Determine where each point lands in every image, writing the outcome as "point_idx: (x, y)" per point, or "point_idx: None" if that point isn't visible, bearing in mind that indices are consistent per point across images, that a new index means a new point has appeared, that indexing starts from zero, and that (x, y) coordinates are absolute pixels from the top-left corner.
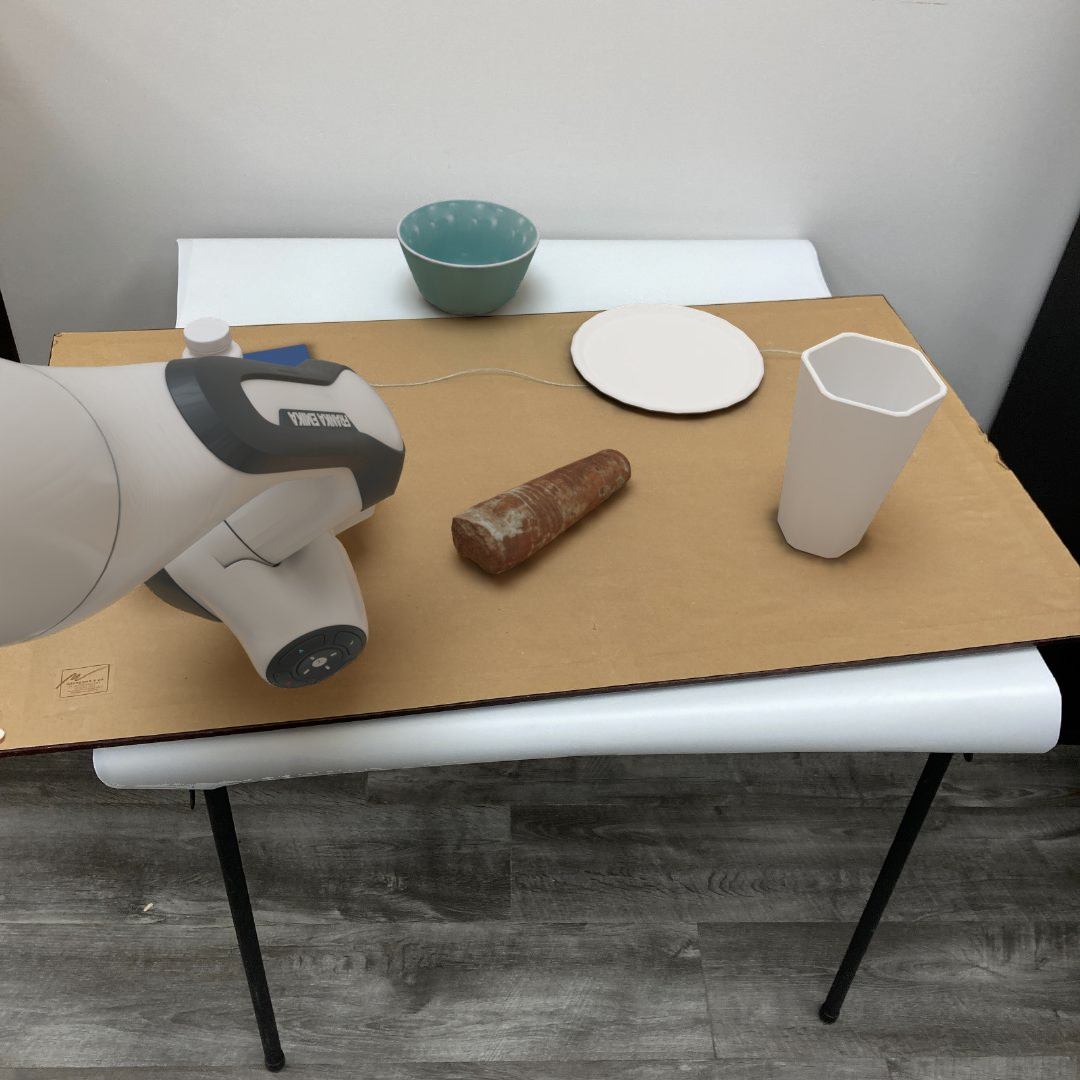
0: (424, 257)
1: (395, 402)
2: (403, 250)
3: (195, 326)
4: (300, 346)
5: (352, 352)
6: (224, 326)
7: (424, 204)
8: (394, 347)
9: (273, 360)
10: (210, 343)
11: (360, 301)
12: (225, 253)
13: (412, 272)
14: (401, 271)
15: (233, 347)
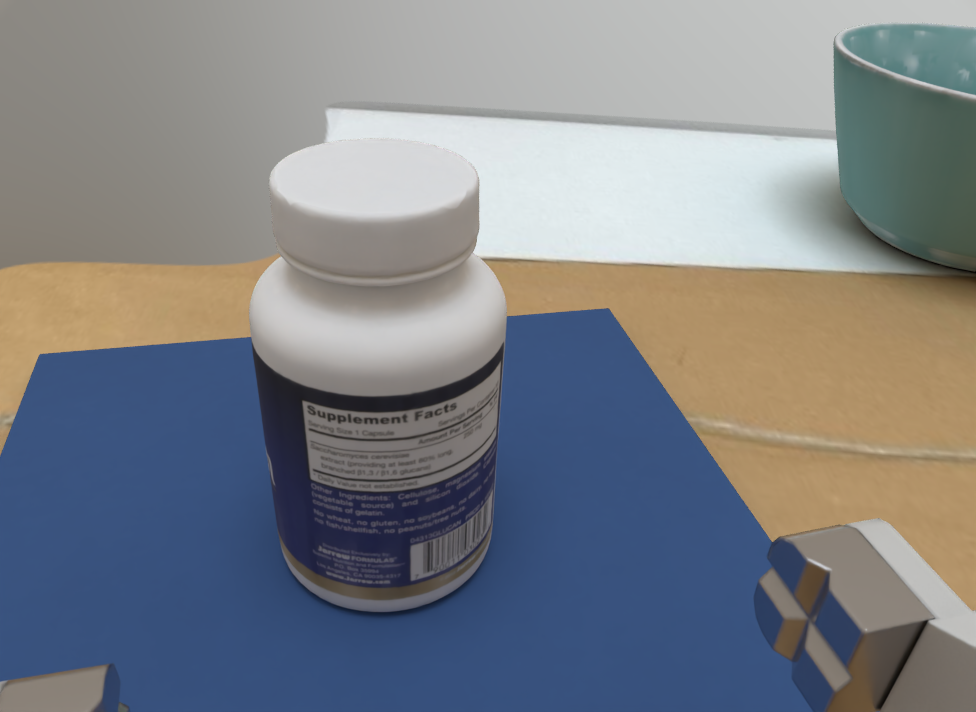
0: (971, 95)
1: (968, 521)
2: (872, 92)
3: (327, 160)
4: (599, 313)
5: (740, 341)
6: (457, 169)
7: (867, 24)
8: (850, 336)
9: (531, 345)
10: (390, 229)
11: (706, 227)
12: (400, 131)
13: (874, 155)
14: (768, 180)
15: (475, 272)
